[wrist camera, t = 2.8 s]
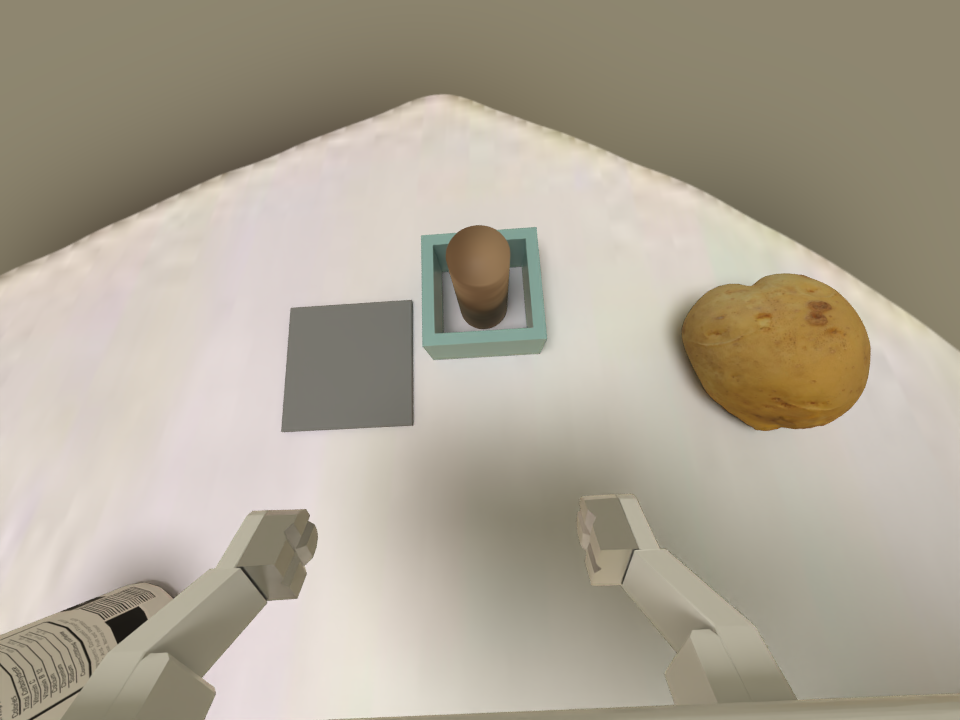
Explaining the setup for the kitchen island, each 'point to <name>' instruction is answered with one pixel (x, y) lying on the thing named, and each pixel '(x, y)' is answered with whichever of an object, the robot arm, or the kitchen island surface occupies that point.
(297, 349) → the mat
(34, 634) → the supplement can
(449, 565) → the kitchen island surface
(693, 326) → the potato
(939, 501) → the kitchen island surface
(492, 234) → the walnut peg
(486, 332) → the tub
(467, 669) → the kitchen island surface
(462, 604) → the kitchen island surface
